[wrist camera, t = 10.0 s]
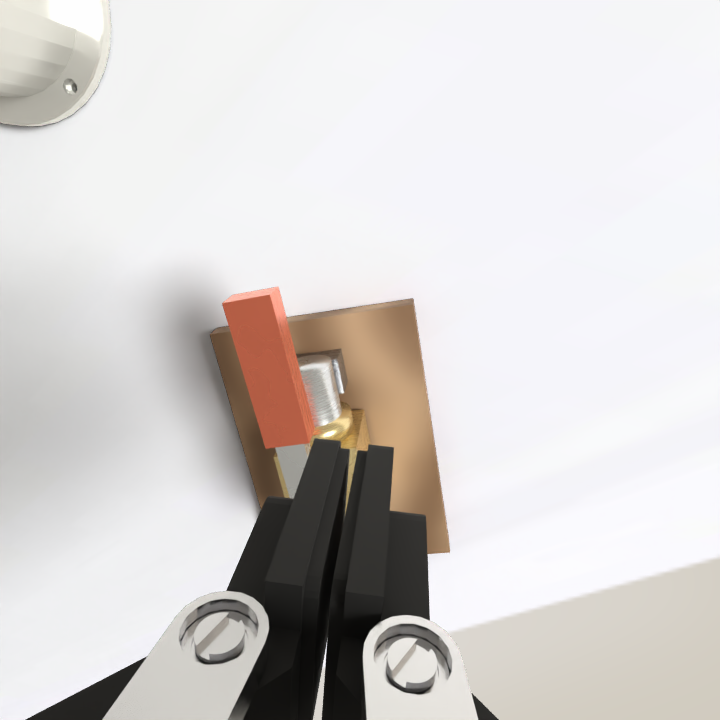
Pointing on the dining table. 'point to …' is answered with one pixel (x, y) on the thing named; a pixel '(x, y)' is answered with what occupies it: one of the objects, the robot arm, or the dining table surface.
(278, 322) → the lever
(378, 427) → the base board
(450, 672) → the robot arm
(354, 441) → the ball valve
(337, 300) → the dining table surface
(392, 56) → the dining table surface
